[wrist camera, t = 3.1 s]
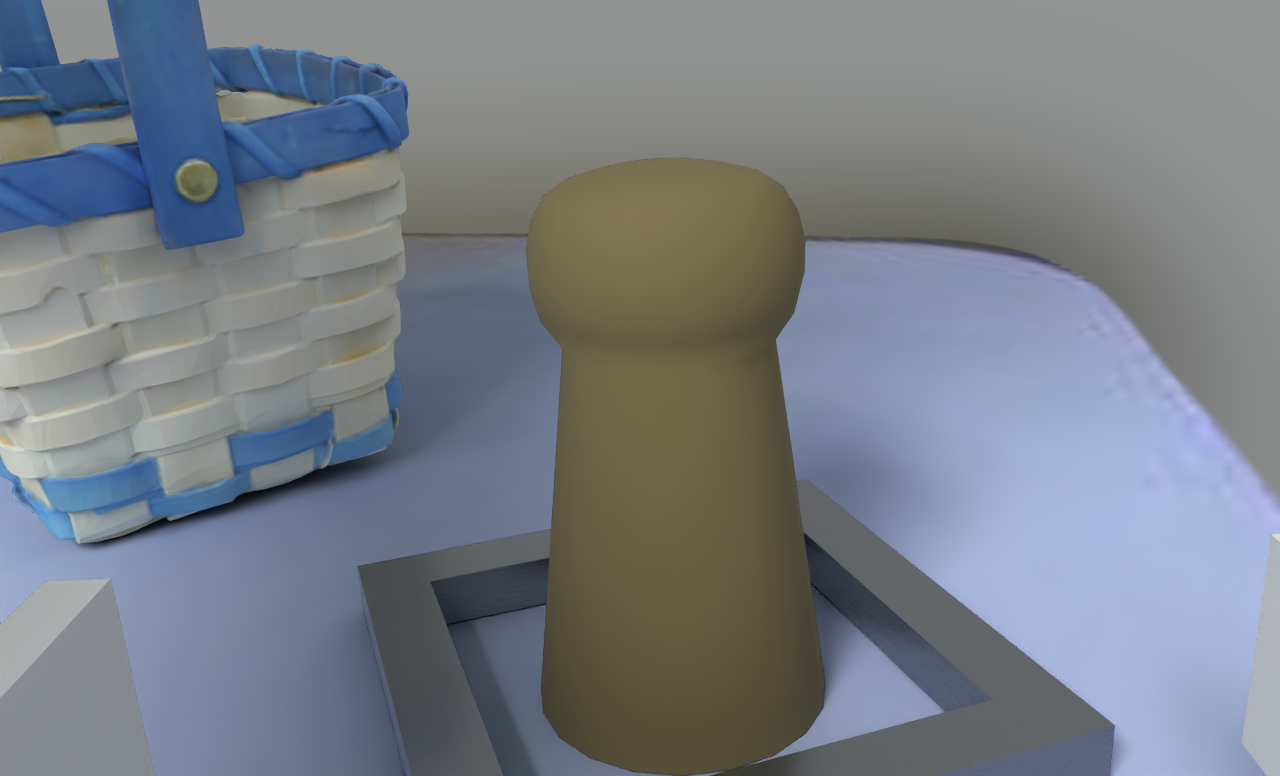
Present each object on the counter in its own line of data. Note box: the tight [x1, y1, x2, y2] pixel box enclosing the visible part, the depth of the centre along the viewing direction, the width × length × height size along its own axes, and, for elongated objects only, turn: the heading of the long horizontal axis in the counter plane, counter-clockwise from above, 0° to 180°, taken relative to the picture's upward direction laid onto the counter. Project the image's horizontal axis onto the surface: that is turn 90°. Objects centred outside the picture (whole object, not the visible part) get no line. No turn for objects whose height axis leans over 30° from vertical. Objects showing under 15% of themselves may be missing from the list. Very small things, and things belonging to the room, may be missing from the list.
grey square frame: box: [357, 480, 1115, 776], centre depth 25 cm, size 12×12×1 cm
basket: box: [0, 0, 409, 544], centre depth 35 cm, size 21×16×24 cm
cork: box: [526, 158, 825, 776], centre depth 23 cm, size 6×6×11 cm
